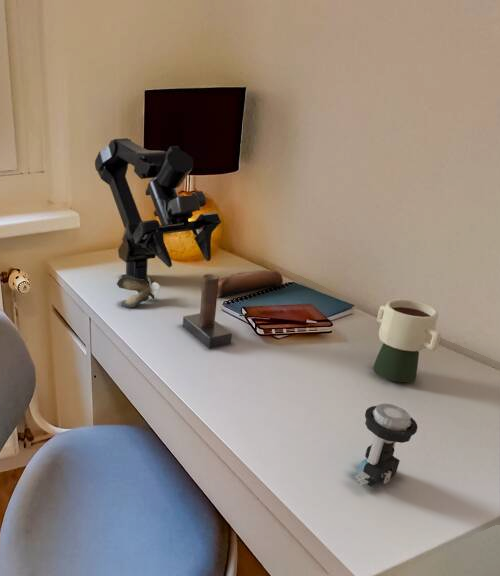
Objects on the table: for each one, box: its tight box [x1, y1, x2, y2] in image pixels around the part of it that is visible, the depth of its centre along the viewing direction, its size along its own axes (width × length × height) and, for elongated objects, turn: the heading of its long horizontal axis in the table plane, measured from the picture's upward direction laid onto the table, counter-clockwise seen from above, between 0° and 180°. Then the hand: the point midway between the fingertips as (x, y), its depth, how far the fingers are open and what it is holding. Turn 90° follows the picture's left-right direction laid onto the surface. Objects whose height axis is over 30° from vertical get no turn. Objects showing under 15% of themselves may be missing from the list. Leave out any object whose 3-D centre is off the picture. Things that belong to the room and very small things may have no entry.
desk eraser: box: [182, 273, 233, 350], centre depth 92 cm, size 10×5×13 cm, turn 19°
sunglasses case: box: [217, 269, 284, 298], centre depth 115 cm, size 18×7×7 cm
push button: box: [353, 403, 418, 487], centre depth 57 cm, size 7×5×10 cm
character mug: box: [372, 299, 442, 383], centre depth 77 cm, size 11×7×13 cm, turn 14°
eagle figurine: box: [116, 276, 161, 308], centre depth 109 cm, size 8×7×9 cm
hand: (190, 263), depth 96 cm, fingers open, 9 cm apart
